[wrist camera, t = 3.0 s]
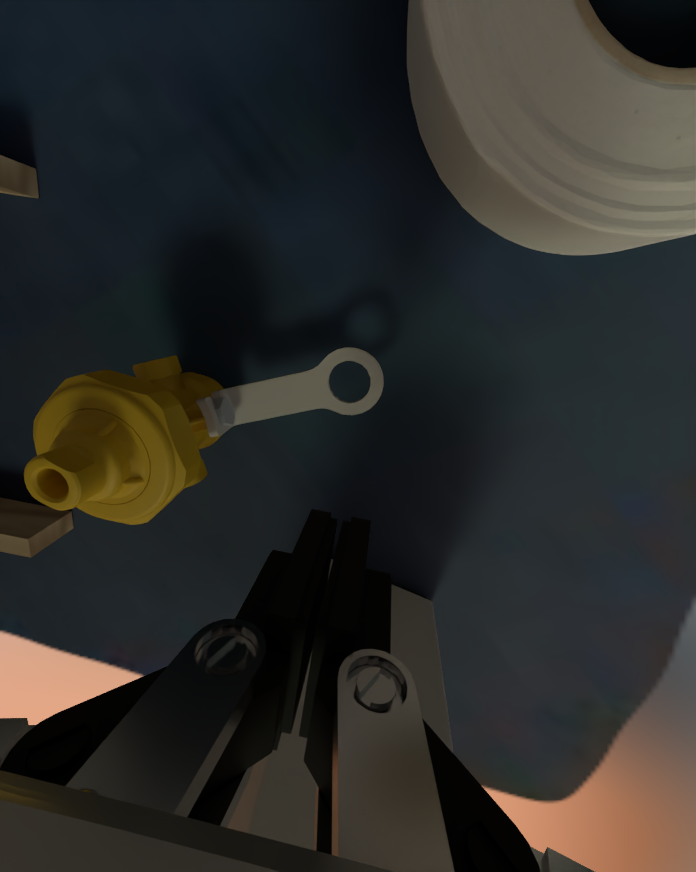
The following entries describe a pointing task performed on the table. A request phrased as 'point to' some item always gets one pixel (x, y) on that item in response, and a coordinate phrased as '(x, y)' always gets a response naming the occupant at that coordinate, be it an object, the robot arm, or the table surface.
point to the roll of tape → (552, 124)
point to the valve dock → (9, 519)
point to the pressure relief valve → (159, 430)
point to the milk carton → (285, 768)
